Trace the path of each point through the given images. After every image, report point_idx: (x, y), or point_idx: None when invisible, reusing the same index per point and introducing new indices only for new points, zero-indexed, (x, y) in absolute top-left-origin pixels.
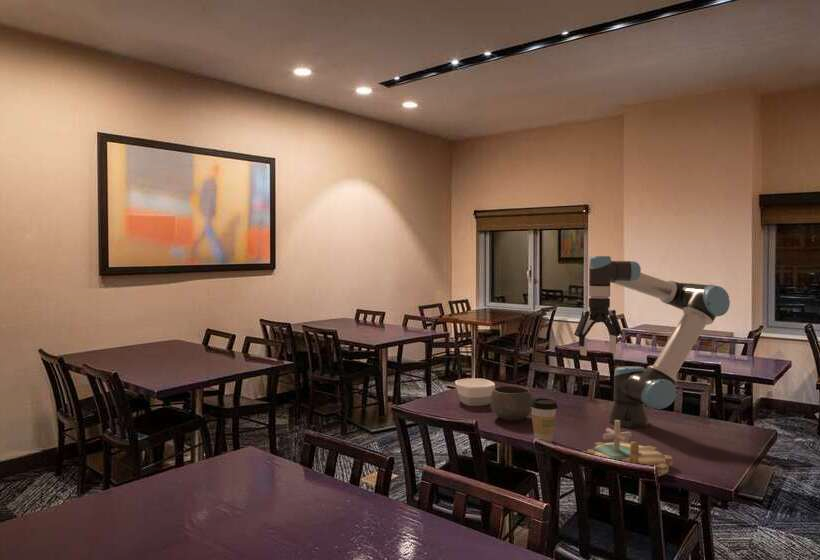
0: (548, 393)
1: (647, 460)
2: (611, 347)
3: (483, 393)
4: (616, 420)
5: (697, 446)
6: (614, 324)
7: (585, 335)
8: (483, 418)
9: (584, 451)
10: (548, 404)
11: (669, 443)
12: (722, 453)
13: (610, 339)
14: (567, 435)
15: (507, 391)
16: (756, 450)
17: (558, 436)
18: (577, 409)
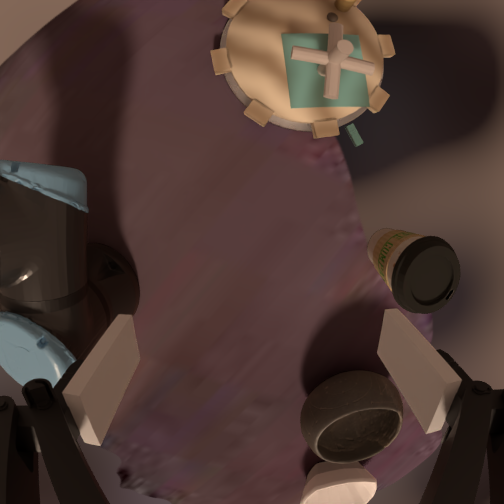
0: (158, 477)
1: (297, 6)
2: (124, 361)
3: (343, 473)
4: (346, 49)
5: (72, 96)
6: (23, 498)
7: (469, 399)
8: None
9: (358, 139)
10: (444, 246)
11: (109, 127)
12: (65, 52)
13: (108, 411)
14: (308, 261)
15: (335, 454)
16: (7, 62)
17: (333, 262)
18: (156, 400)
